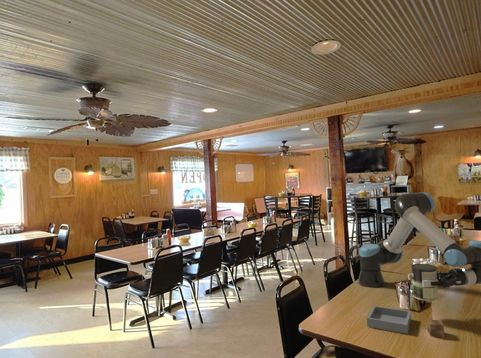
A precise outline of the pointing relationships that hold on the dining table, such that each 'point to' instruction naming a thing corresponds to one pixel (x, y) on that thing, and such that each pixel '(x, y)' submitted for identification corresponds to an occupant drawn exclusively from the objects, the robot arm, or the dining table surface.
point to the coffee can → (421, 274)
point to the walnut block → (435, 328)
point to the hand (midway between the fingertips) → (415, 280)
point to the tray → (389, 319)
